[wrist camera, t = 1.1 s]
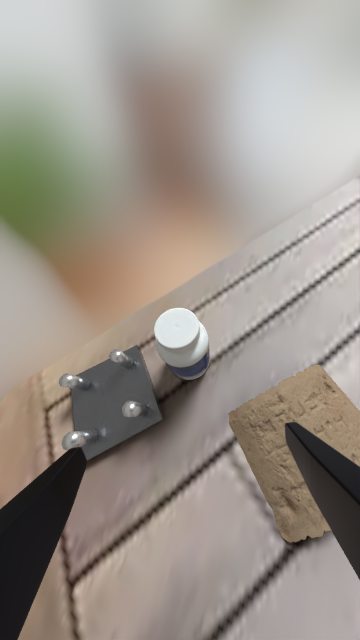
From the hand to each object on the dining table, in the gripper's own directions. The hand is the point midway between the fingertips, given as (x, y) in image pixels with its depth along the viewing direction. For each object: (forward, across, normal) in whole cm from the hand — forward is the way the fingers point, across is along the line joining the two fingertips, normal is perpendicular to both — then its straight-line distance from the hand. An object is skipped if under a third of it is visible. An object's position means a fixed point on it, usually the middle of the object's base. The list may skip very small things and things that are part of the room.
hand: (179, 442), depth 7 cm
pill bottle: (+15, 0, +4) cm, 16 cm away
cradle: (+12, +10, +6) cm, 17 cm away
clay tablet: (+9, -10, +11) cm, 18 cm away
